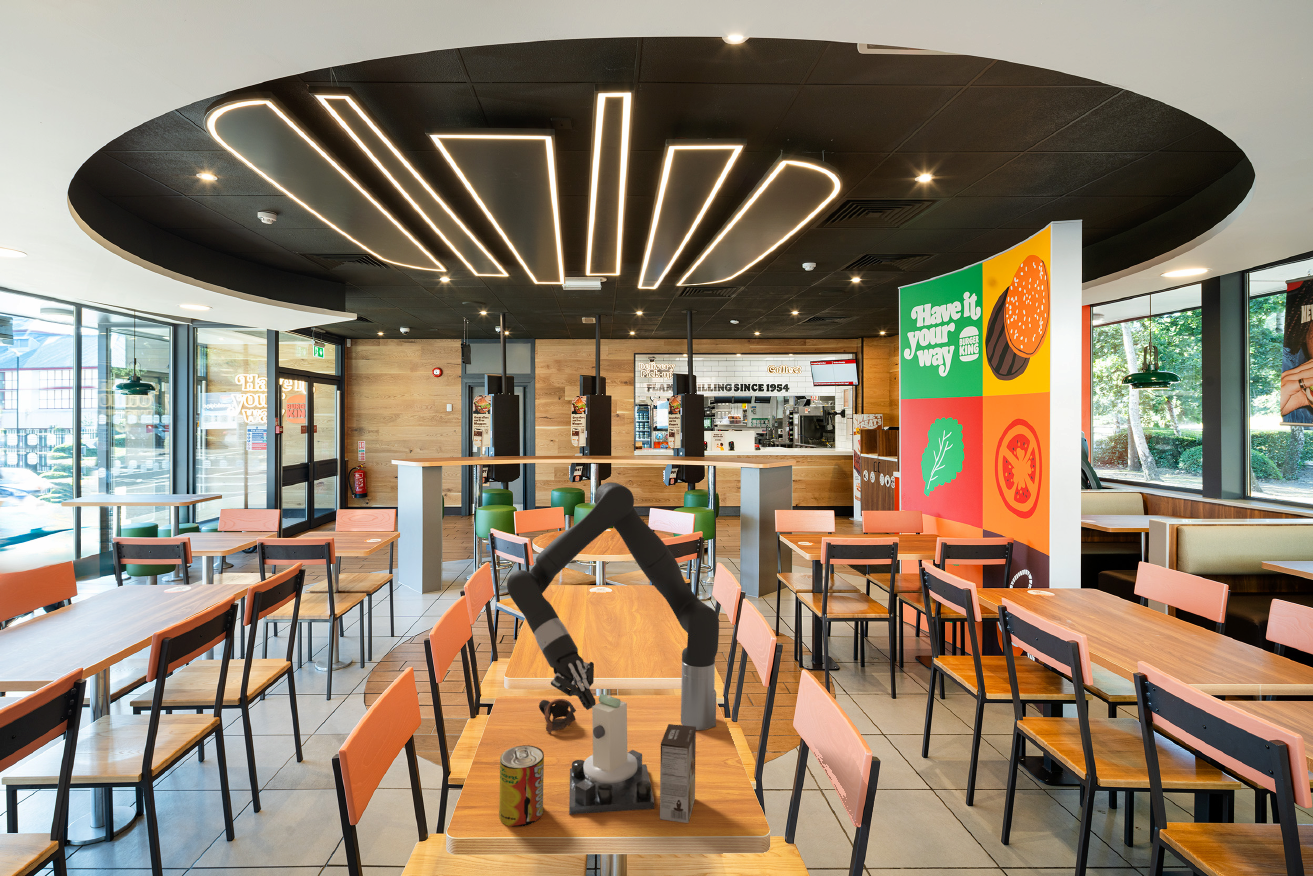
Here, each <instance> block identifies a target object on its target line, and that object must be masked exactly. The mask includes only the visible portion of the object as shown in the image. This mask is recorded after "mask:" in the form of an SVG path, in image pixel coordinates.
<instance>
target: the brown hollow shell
mask: <svg viewBox="0 0 1313 876" xmlns="http://www.w3.org/2000/svg"><path fill="white" fill-rule="evenodd" d="M538 707H539V710H540V711H541V714H543V716H544V719H545V720H544V721H545V722H546V723H547V724H546V726H545V731H547V733H549V734H551V733H552V732H555V731H556V732H557V731H560V730H564V729H566V728H567V726H570V725H571V724H572V723H573V722H574V721H577V719H576V716H575V714H574V713H576V712H577V710H576V707H575V706H574V705H573V704H572V702H570V701H569V700H567V699H565V698H557V699H554V700H552V701H549V700H548V699H547V700H546V699H542V700H540V702H539V705H538ZM551 717H552V719H551ZM559 718H561V719H559Z"/></svg>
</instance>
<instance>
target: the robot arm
mask: <svg viewBox="0 0 1313 876" xmlns="http://www.w3.org/2000/svg"><path fill="white" fill-rule="evenodd" d="M594 503H595V505H594V506H593V508H592V509H590V511H589V512H588V513H587V514H586V515H585V516H584V517H583V518H582V519H580V521H578V522H577V523H576V524H574V525H572V526H571V527H569V528H568V529H566V530H565V531H563V532H562V533H560V534H559V535H558V536H557V537H556V538H554V539H553V540H552V541H551V542H550V543H548V545H547V546H546V547H544V548H543V550H541V552H539V554H538V555H537V556H536V557H535V564H534V566H533V567H532V568H531V569H530V570H529V571H527V570H523V569H518V570H515V571H514V572H512V573H511V574H510V575H509V577H508V578H507V581H506V590H507V593H508V594H509V597H510V598H511V599H512V601H513V602H514V604H515V605H516V607H517V608H518V610H519V611H520V612H521V614H522V615H523V616H524V619H525V620H526V622H527V624H528V627H529V628H530V630H531V632H532V633H533V635H534V638H535V640H536V643H537V645H538V647H539V649H540V651H541V652H542V654H543V656H544V658H545V660H546V661H547V664H548V665H549V667H550V668H552V669H553V673H554V677H553V679H552V680H551V681H550V685H551V686H552V687H554V688H555V689H557V690H559V691H561V693H564V694H565V695H567V696H568V697H573V696H576V697H577V698H578V699H579V701H580V703H581V705H582V706H583V708H584V709H586V711H589V710H591V709H592V706H594V705H596V698H595V696H594V695H593V693H592V691H591V690H590V687H592V685H593V684H594V678H595V676H594V675H595V664H594V662H593V661H590V662H586V661H584V659H583V658H582V657H581V655H579V648H578V646H577V645H576V643H575V642H574V639H573V638H572V636H571V635H570V633H569V631H568V629H567V627H566V626H565V625H564V623H563V622H562V621H561V619H560V618H559V615H558V614H557V612H556V611H555V609H554V607H553V606H552V604H551V603H550V602H549V601H548V599H546V598H545V596H544V595H543V594H544V593H545V591H546V590H547V588H548V587H549V586H550V585H551V583H552V582H553V580H554V578H555V577H556V576H557V575H558V574H559V573H560V572H561V571H562V570H564V569H565V567H566V566H567V565H568V564H570V563H571V561H572V560H573V559H575V558H576V557H577V556H578V555H579V554H580V553H581V552H582V551H583V550H584V549H585V548H586V547H587V546H589V545H590V544H591V543H592V542H593V541H595V539H597V538H598V537H599V536H601V535H602V534H603V533H604V532H605V531H607V530H608V529H610V528H611V527H613V528H614V529H615V531H616V532H617V534H619V536H620V537H621V539H622V541H623V542H624V544H625V546H626V547H627V549H628V551H629V553H630V554H631V556H632V558H633V559H634V560H635V562H636V563H637V565H638V567H639V568H640V570H641V571H642V573H644V575H645V576H646V578H647V579H648V581H650V583H651V584H652V586H653V587H654V588H655V589H656V590H657V591H658V593H660V595H661V596H662V597H663V598H664V599H665V600H666V602H667V604H668V605H669V607H670V608H671V610H672V611H673V614H674V616H675V619H677V621H678V623H679V625H680V626H681V628H682V629H683V630H684V631H685V632H686V633H687V640H686V641H687V643H686V644H687V645H686V646H687V647H684V649H683V650H682V652H681V686H680V687H681V692H680V693H681V695H680V696H681V697H680V701H681V703H680V725H685V726H695V727H696V731H705V730H708V729H711V728H716V726H717V691H716V689H715V685H716V684H715V681H716V680H715V679H716V676H715V674H716V671H715V669H716V668H715V667H716V664H715V663H716V656H717V654H718V649H719V638H720V637H719V636H720V635H719V633H720V620H719V616H718V614H717V612H716V610H714V609H713V608H712V607H710V606H708V604H706V603H704V602H703V601H701V600H700V598H699V597H698V596H697V595H696V594H695V593H694V592H693V590H692V589H691V588H690V587H689V586H688V584H687V582H686V581H685V579H684V577H683V574H682V573H683V572H682V570H681V568H680V565H679V563H678V562H677V559H676V558H675V556H674V555H673V553H672V552H671V551H670V549H669V548H668V546H667V545H666V543H664V541H663V540H662V538H661V537H660V536H658V534H657V533H656V532H655V531H654V530H653V529H652V528H651V527H650V526H649V525H648V524H646V522H645V521H644V520H643V519H642V518H641V516H640V515H639V514H638V512H637V510H636V509H635V507H634V504H635V497H634V495H633V492H632V491H631V490H630V489H629V488H628V487H626V486H625V485H623V484H620V483H617V482H611V481H610V482H606V483H603V484H601V485H600V486H598V488H597V489H596V491H595V494H594Z"/></svg>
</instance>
